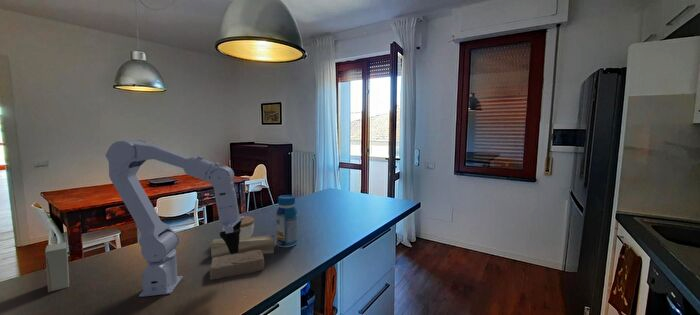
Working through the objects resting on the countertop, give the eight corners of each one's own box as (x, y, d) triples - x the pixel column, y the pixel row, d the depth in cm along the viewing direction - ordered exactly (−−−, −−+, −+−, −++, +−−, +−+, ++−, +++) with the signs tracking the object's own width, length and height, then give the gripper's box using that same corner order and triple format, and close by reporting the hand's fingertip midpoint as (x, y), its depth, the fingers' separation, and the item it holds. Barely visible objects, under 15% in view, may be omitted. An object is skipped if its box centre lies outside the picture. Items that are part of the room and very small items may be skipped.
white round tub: (254, 234, 126) (253, 210, 125) (255, 244, 114) (254, 218, 113) (223, 237, 121) (222, 213, 120) (221, 249, 110) (220, 221, 109)
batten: (273, 252, 106) (273, 239, 106) (211, 258, 102) (210, 243, 101) (274, 248, 110) (273, 235, 110) (214, 253, 106) (213, 239, 105)
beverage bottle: (295, 248, 111) (294, 199, 109) (274, 248, 111) (273, 198, 109) (299, 240, 120) (298, 194, 118) (279, 239, 119) (278, 194, 118)
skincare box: (49, 284, 83) (45, 245, 82) (70, 279, 86) (67, 241, 85) (47, 293, 79) (44, 251, 78) (69, 287, 82) (66, 247, 81)
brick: (209, 281, 86) (209, 266, 86) (211, 269, 94) (210, 255, 94) (265, 271, 93) (264, 258, 93) (262, 261, 101) (262, 248, 100)
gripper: (240, 208, 79) (248, 253, 80) (242, 198, 92) (248, 237, 94) (213, 213, 77) (222, 260, 78) (219, 202, 90) (226, 242, 92)
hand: (235, 248), depth 86 cm, fingers open, 7 cm apart
